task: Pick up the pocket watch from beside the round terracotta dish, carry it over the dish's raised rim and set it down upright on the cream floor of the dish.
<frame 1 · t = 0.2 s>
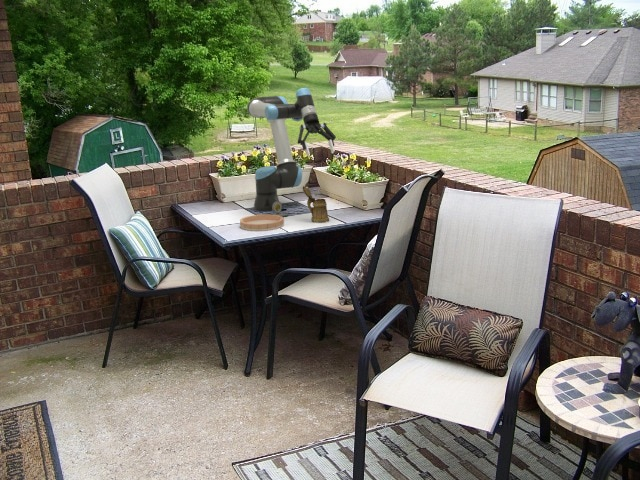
hand: (320, 153, 349), 35 cm above the table, tool tilted 35°, fingers open, 13 cm apart
wooden mug: (316, 220, 363), on the table
pocket watch: (280, 215, 377), on the table
round dish: (262, 225, 356), on the table
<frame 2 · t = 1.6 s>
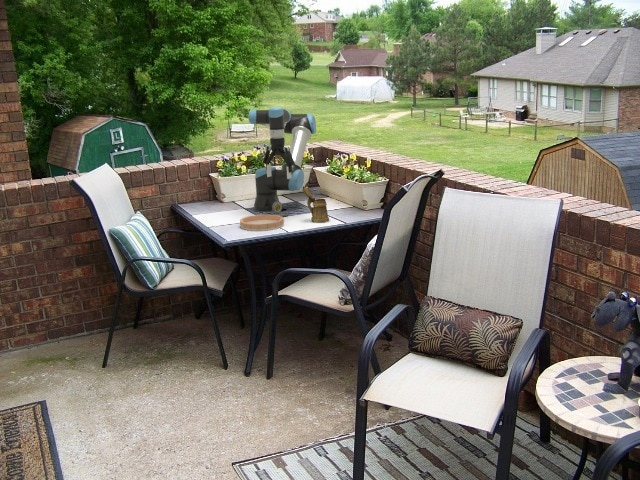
hand: (279, 177, 371), 21 cm above the table, tool pointing down, fingers open, 13 cm apart
nothing on the table moved.
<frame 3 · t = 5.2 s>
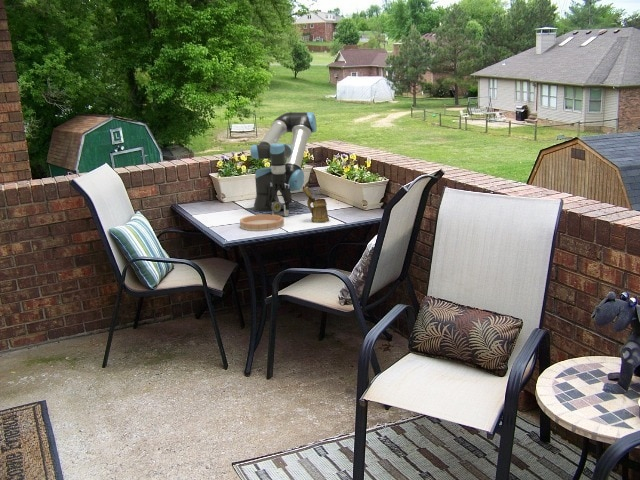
hand: (280, 214, 376), 0 cm above the table, tool pointing down, fingers closed on pocket watch, 8 cm apart
pocket watch: (279, 215, 377), on the table, touching gripper
everything else where it was.
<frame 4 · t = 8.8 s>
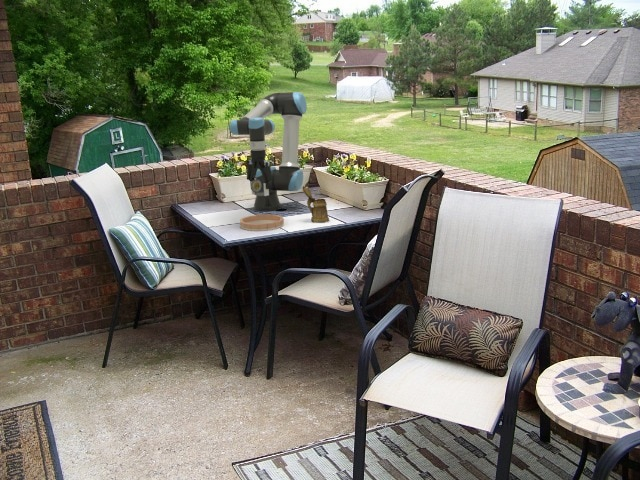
hand: (260, 194, 352), 16 cm above the table, tool pointing down, fingers closed on pocket watch, 8 cm apart
pocket watch: (259, 195, 352), point 16 cm above the table, touching gripper
everything else where it was.
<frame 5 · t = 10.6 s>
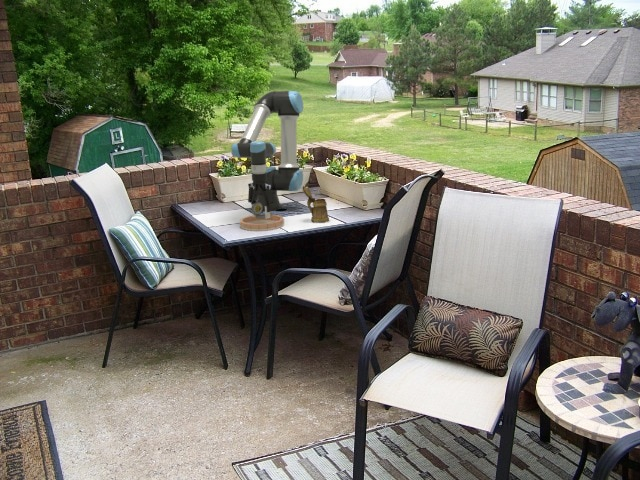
hand: (261, 217, 355), 4 cm above the table, tool pointing down, fingers closed on pocket watch, 8 cm apart
pocket watch: (260, 217, 355), point 4 cm above the table, touching gripper
everything else where it was.
when the fingers open (2 cm above the table, at t = 12.0 s): pocket watch drops 1 cm, resting on round dish.
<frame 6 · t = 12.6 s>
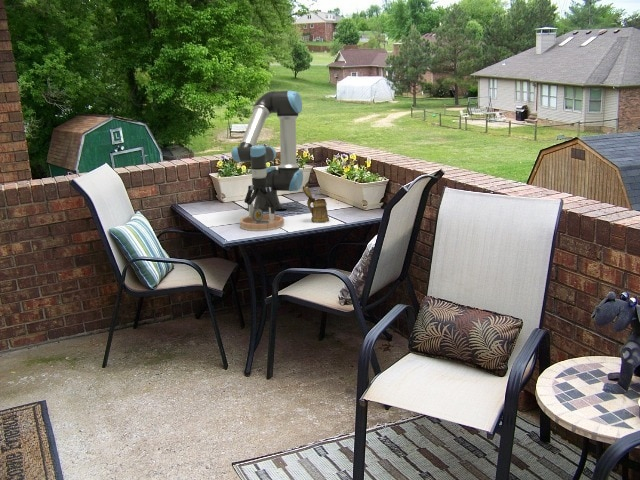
hand: (261, 218, 355), 4 cm above the table, tool pointing down, fingers open, 13 cm apart
pocket watch: (261, 224, 356), point 1 cm above the table, touching round dish
everything else where it was.
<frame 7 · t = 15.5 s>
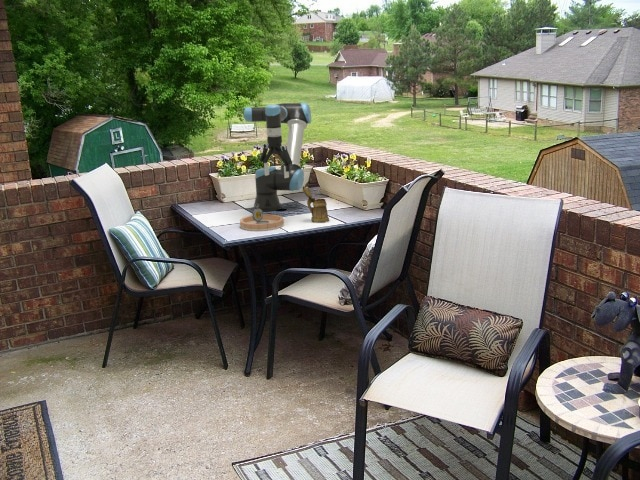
hand: (276, 176, 364), 22 cm above the table, tool pointing down, fingers open, 13 cm apart
nothing on the table moved.
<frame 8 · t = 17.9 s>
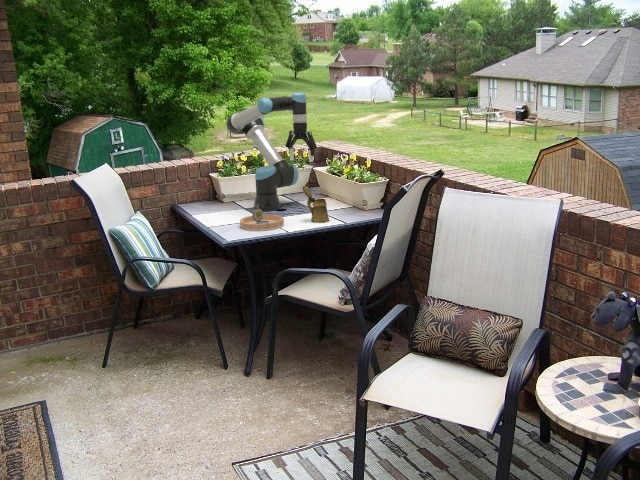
hand: (301, 160, 385), 27 cm above the table, tool pointing down, fingers open, 13 cm apart
nothing on the table moved.
at the end: pocket watch 0.7 cm from the round dish (horizontally); pocket watch point 0.6 cm above the table; pocket watch tilted 0° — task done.
